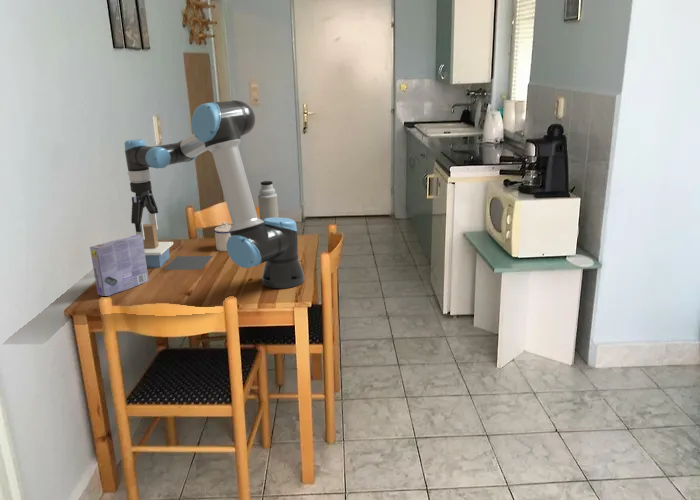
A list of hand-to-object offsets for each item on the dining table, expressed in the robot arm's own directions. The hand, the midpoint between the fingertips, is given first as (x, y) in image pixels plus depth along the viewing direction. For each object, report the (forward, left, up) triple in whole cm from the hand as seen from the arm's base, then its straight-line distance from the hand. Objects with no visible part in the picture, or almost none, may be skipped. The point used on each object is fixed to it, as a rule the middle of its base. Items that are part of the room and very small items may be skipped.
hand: (147, 234), depth 224 cm
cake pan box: (-26, 0, -12) cm, 28 cm away
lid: (0, 0, -6) cm, 6 cm away
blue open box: (0, 0, -12) cm, 12 cm away
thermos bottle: (+22, -44, -12) cm, 51 cm away
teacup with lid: (+20, -26, -12) cm, 35 cm away
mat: (0, -15, -12) cm, 19 cm away
